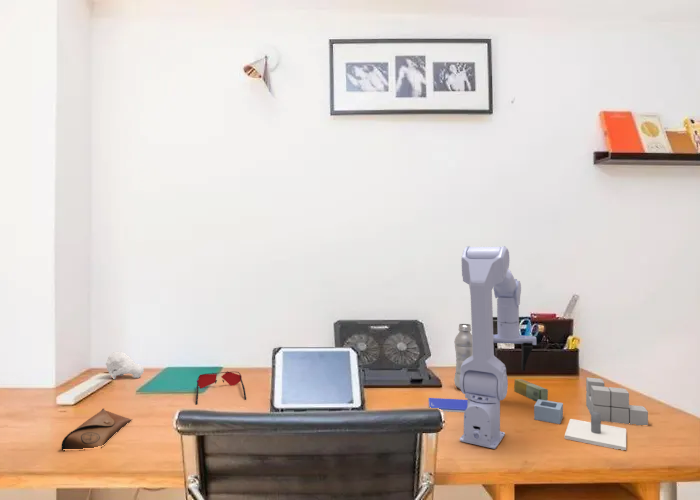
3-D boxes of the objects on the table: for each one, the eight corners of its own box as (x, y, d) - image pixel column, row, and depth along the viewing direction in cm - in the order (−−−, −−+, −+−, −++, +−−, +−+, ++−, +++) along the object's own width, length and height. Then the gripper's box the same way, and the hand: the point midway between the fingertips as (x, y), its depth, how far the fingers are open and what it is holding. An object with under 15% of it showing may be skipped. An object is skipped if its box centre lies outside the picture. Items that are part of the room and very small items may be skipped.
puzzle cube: (648, 427, 110) (648, 394, 110) (593, 420, 114) (593, 389, 114) (635, 411, 121) (635, 381, 121) (586, 405, 125) (586, 377, 125)
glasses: (241, 385, 145) (241, 369, 145) (246, 401, 129) (246, 383, 129) (196, 389, 140) (196, 373, 140) (195, 406, 125) (195, 388, 125)
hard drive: (429, 407, 121) (476, 409, 119) (428, 397, 129) (472, 399, 127) (429, 412, 121) (476, 415, 119) (428, 402, 129) (472, 404, 127)
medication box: (548, 403, 127) (548, 389, 127) (540, 404, 126) (540, 390, 126) (520, 391, 139) (521, 378, 139) (513, 391, 138) (513, 378, 138)
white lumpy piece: (116, 349, 155) (149, 353, 154) (114, 373, 155) (147, 378, 154) (104, 353, 149) (139, 357, 148) (102, 378, 149) (136, 383, 148)
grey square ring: (559, 424, 111) (559, 410, 111) (534, 419, 114) (534, 405, 114) (562, 416, 116) (562, 403, 116) (538, 412, 119) (538, 399, 119)
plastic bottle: (478, 387, 141) (478, 324, 141) (471, 393, 135) (471, 327, 136) (458, 384, 145) (458, 322, 145) (451, 389, 139) (451, 325, 139)
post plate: (626, 451, 96) (626, 426, 96) (564, 438, 102) (564, 415, 102) (626, 432, 106) (626, 410, 106) (570, 421, 113) (570, 401, 113)
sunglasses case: (102, 449, 96) (86, 423, 96) (72, 467, 95) (56, 441, 95) (134, 418, 114) (120, 396, 114) (109, 434, 113) (95, 411, 113)
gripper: (533, 318, 128) (534, 365, 128) (480, 317, 131) (481, 363, 132) (537, 324, 121) (537, 373, 122) (481, 322, 125) (482, 370, 125)
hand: (508, 368), depth 126 cm, fingers open, 7 cm apart
